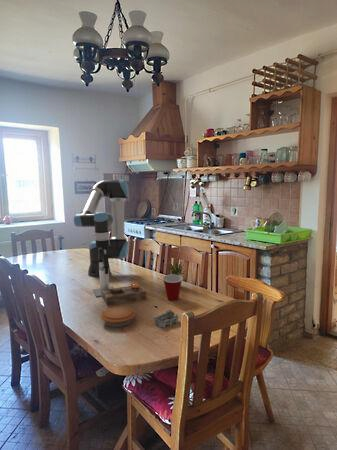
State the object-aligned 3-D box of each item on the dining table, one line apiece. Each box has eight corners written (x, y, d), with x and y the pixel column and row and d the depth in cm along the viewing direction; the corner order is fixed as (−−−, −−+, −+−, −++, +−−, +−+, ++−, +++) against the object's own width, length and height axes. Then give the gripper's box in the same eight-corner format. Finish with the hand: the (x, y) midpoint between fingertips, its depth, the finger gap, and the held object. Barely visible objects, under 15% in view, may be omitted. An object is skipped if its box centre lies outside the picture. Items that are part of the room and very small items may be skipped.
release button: (130, 293, 176) (130, 283, 175) (138, 292, 178) (137, 282, 177) (132, 295, 172) (132, 286, 171) (140, 294, 174) (140, 285, 173)
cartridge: (99, 290, 184) (98, 266, 182) (108, 288, 186) (106, 265, 184) (101, 293, 179) (99, 269, 177) (110, 291, 181) (108, 268, 179)
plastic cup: (165, 304, 163) (165, 281, 161) (160, 296, 173) (160, 275, 172) (185, 301, 166) (185, 279, 164) (179, 294, 176) (179, 273, 174)
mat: (92, 290, 186) (92, 289, 186) (113, 287, 190) (112, 286, 190) (96, 297, 175) (96, 296, 175) (117, 293, 179) (117, 292, 179)
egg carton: (172, 317, 148) (171, 308, 147) (181, 323, 142) (181, 314, 141) (152, 322, 142) (151, 314, 142) (160, 329, 136) (160, 320, 135)
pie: (136, 313, 152) (136, 303, 151) (134, 328, 137) (134, 317, 136) (104, 314, 152) (104, 304, 151) (98, 330, 136) (97, 319, 136)
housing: (102, 297, 175) (101, 290, 174) (138, 291, 182) (138, 284, 182) (107, 305, 163) (106, 298, 162) (146, 298, 171) (145, 291, 170)
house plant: (192, 283, 194) (192, 257, 192) (187, 291, 181) (187, 263, 178) (170, 282, 198) (169, 256, 195) (163, 289, 185) (163, 262, 182)
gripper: (91, 236, 188) (93, 271, 191) (99, 244, 165) (101, 283, 168) (104, 235, 191) (106, 269, 194) (113, 242, 168) (115, 281, 171)
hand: (104, 276), depth 181 cm, fingers open, 13 cm apart
